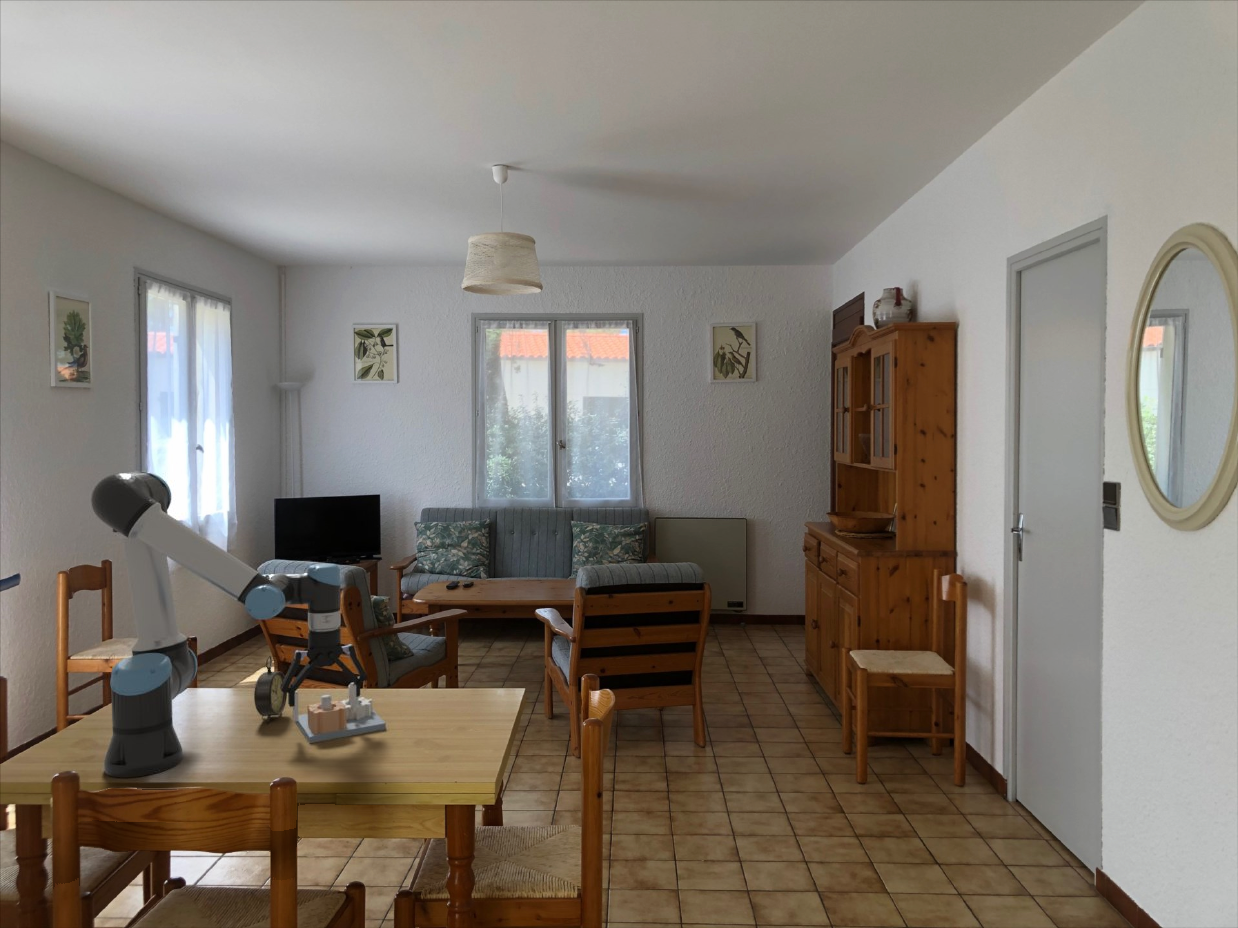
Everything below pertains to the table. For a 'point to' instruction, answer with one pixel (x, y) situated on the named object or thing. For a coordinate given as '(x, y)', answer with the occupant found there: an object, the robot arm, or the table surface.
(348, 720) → the gear board
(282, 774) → the table surface
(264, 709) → the alarm clock
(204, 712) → the table surface
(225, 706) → the table surface
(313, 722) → the loose gear
